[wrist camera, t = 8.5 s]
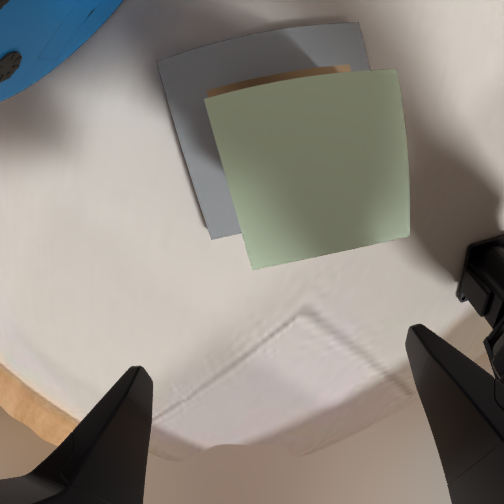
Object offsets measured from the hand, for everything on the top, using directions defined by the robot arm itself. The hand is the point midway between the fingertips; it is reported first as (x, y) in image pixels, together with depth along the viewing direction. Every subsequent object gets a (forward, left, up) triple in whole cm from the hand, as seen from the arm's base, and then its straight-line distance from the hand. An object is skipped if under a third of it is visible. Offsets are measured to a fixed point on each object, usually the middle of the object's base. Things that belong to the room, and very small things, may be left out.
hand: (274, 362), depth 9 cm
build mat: (-2, -5, -12) cm, 14 cm away
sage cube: (-2, -5, -6) cm, 9 cm away
